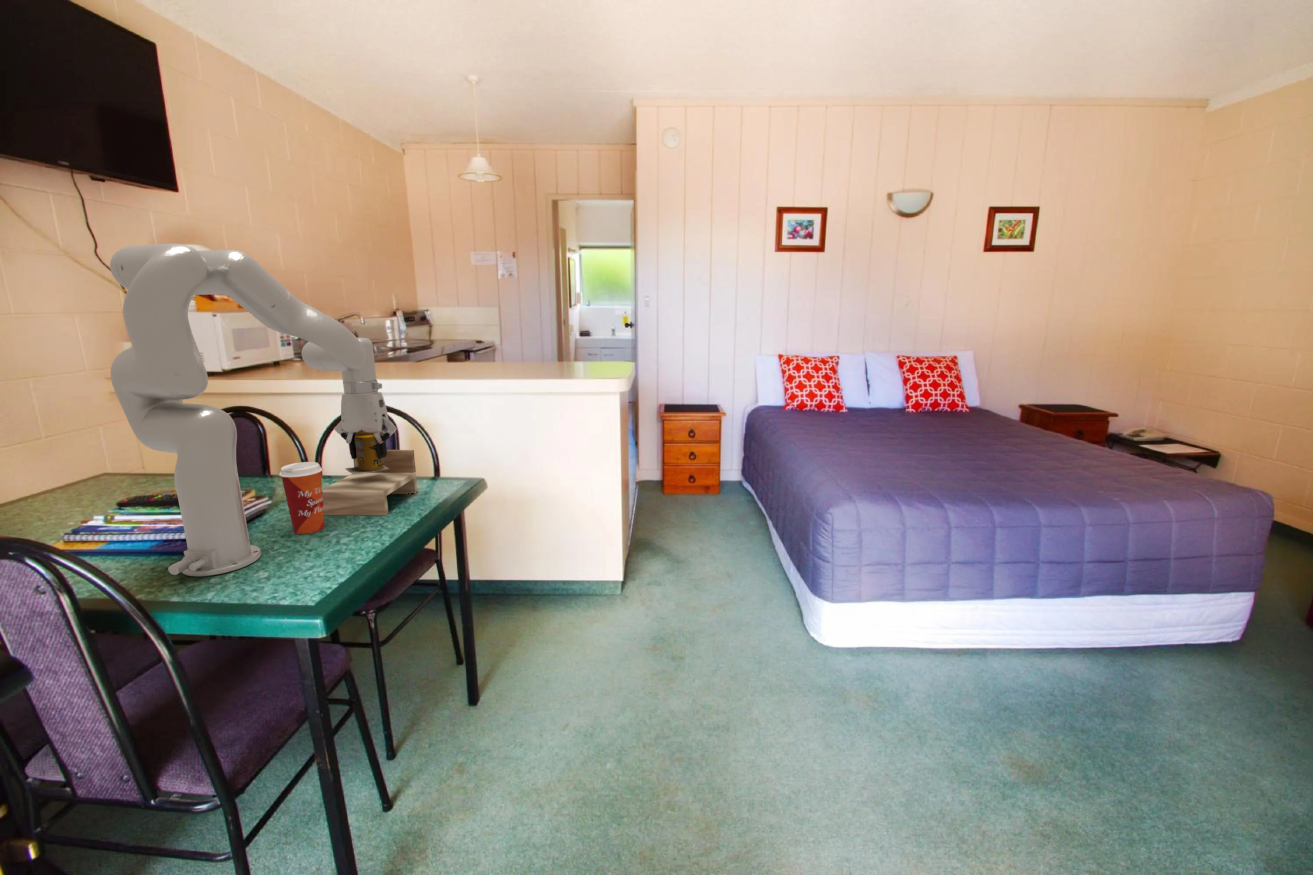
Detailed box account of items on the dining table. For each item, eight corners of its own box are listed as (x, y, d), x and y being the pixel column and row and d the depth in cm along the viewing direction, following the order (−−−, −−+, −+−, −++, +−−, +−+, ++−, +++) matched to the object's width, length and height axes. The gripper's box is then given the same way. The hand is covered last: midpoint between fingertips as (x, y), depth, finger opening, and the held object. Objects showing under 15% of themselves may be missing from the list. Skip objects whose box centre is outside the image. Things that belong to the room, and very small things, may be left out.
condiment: (389, 469, 146) (385, 423, 143) (354, 475, 140) (348, 428, 137) (379, 463, 151) (374, 419, 148) (345, 469, 145) (339, 424, 142)
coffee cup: (310, 537, 124) (301, 471, 121) (279, 534, 126) (268, 469, 122) (338, 523, 132) (330, 461, 129) (308, 521, 134) (299, 460, 130)
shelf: (385, 515, 137) (380, 468, 135) (320, 514, 138) (314, 467, 135) (417, 492, 155) (413, 449, 152) (360, 491, 155) (355, 449, 153)
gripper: (401, 386, 144) (409, 454, 148) (335, 386, 144) (344, 453, 148) (387, 390, 137) (395, 461, 141) (317, 390, 137) (327, 461, 141)
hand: (369, 456), depth 145 cm, fingers closed on condiment, 6 cm apart
